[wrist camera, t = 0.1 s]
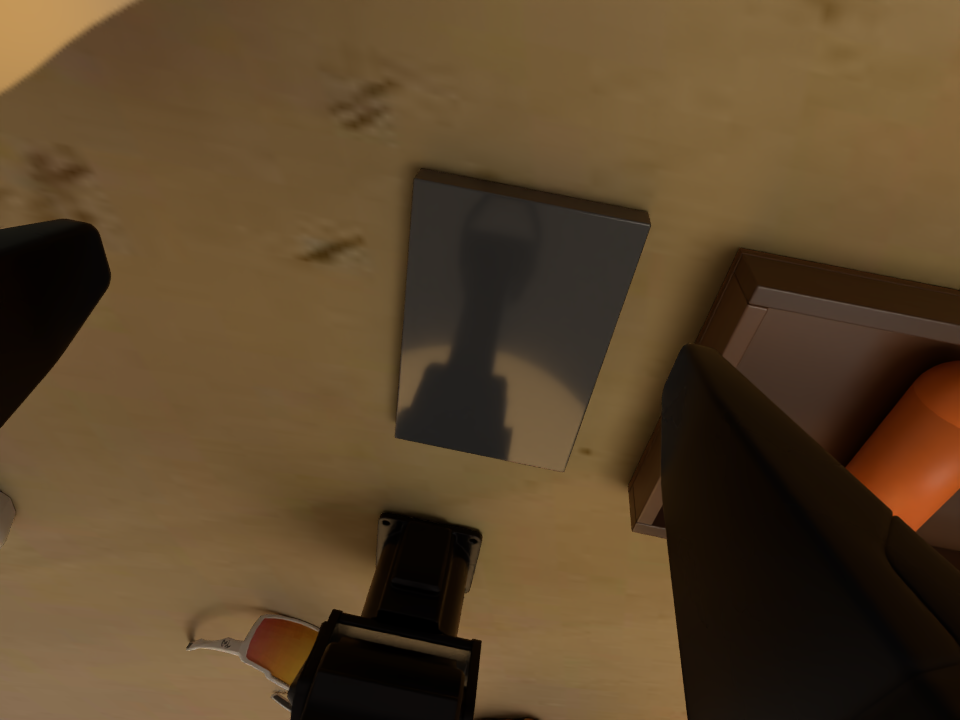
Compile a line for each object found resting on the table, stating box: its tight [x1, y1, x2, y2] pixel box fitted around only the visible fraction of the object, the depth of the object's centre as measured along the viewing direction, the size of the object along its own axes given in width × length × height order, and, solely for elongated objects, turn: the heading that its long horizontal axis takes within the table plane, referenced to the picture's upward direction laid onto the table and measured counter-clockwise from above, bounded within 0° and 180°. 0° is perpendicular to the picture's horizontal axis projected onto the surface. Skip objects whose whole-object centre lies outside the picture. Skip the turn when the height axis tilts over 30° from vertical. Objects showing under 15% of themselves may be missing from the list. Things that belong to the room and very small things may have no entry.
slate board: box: [395, 168, 651, 472], centre depth 26 cm, size 14×9×1 cm, turn 172°
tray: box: [628, 248, 960, 571], centre depth 26 cm, size 15×20×3 cm
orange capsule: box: [845, 361, 960, 532], centre depth 25 cm, size 11×4×4 cm, turn 172°
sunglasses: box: [186, 614, 320, 712], centre depth 49 cm, size 14×15×5 cm
